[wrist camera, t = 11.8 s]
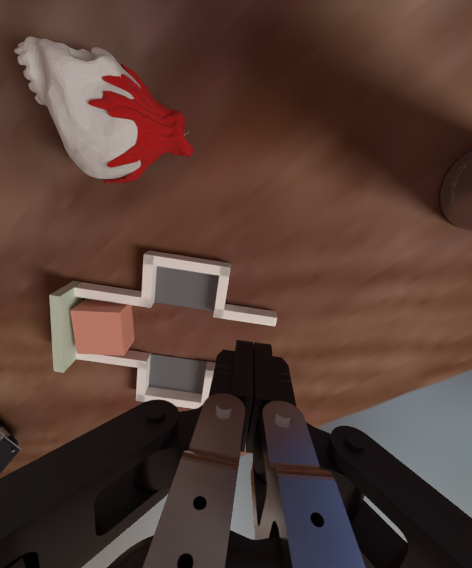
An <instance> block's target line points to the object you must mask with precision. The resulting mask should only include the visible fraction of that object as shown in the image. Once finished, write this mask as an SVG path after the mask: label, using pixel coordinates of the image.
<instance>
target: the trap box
mask: <svg viewBox="0 0 472 568" xmlns="http://www.w3.org/2000/svg"><path fill="white" fill-rule="evenodd" d="M230 269H231V263H226V262H220V261H214V260H207V259H201V258H194V257H188V256H181V255H175V254H169V253H162V252H156V251H149V250H148V251H147V252H146V253H144V256H143V275H142V291H137V290H130V289H124V288H117V287H110V286H104V285H97V284H91V283H84V282H77V281H72V282H70V283H69V284H67V285H65V286H64V287H62V288H60V289H58V290H57V291H55V292H53V293H52V294H50V295H49V299H50V316H51V333H52V350H53V366H54V371H55V372H62V373H64V372H65V370H66V369H67V368H68V367H69V366H70V365H71V364H72V363H73V362H74V361H75V360H76V359H80V360H87V361H94V362H101V363H108V364H115V365H122V366H129V367H136V368H138V369H137V388H136V401H142V402H147V401H150V400H157V399H158V400H166V401H169V402H171V403H172V404H174V405H175V406H178V407H185V408H193V409H196V408H199V407H200V406H202V405H203V404H204V402H205V400H206V399H207V398H208V397H209V392H210V387H211V382H212V378H213V373H214V368H215V362H208V361H201V360H194V359H187V358H180V357H173V356H166V355H160V354H153V353H146V352H139V351H132V350H128V351H127V352H126V354H125V355H124V356H119V355H96V354H77V350H76V344H75V338H74V331H73V325H72V319H71V313H70V310H72V309H73V308H74V307H76V306H77V305H78V304H79V303H81V302H82V301H83V298H88V299H95V300H101V301H108V302H115V303H122V304H128V305H135V306H142V307H148V308H151V306H152V305H153V303H154V302H156V303H163V304H170V305H176V306H183V307H190V308H196V309H203V310H210V311H214V316H213V317H216V318H222V319H229V320H236V321H242V322H249V323H256V324H263V325H269V326H276V321H277V315H276V311H270V310H263V309H256V308H250V307H243V306H236V305H230V304H225V301H226V294H227V288H228V282H229V275H230Z"/></svg>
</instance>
